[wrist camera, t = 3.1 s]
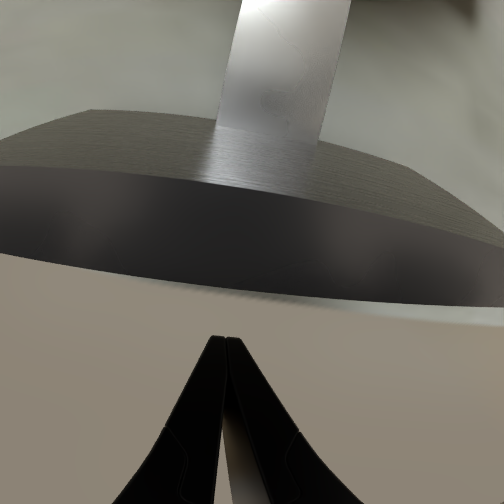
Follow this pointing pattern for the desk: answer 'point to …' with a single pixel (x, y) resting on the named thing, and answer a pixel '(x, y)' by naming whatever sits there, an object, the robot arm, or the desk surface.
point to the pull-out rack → (247, 188)
